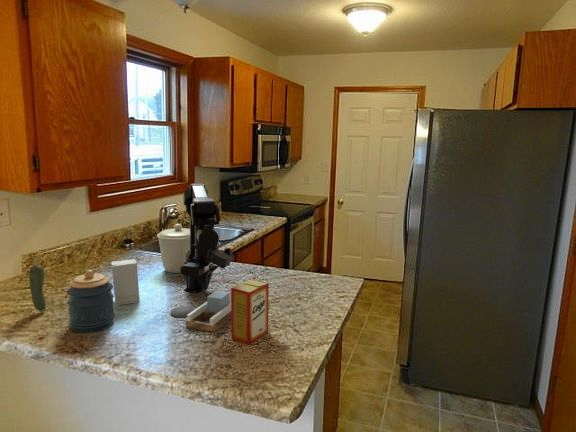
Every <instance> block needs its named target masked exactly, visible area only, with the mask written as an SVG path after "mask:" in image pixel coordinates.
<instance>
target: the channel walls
mask: <svg viewBox="0 0 576 432" xmlns="http://www.w3.org/2000/svg"><path fill="white" fill-rule="evenodd" d="M194 309H195V310H193V311H192V312H191V313H189V314H188V315H187V317H186V320H187V321H191V320H193V319H194V318H195V317H197V316H198V315H200V314H201V313H202V312H204V311H205V310H207V301H205V302H204V303H202V304H201V305H199V306H198V307H196V308H194ZM230 311H231V303H230V304H228V305H227V306H226V307H225V308H223V309H222V310H221V311H219V312H218V313H217V314H215V315H214V316H213V317H212V318H210V325H212V326H213V325H214V324H215V323H217V322H218V321H219V320H220V319H222V318H223V317H224V316H225V315H226V314H228V313H229V312H230Z"/></svg>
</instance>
